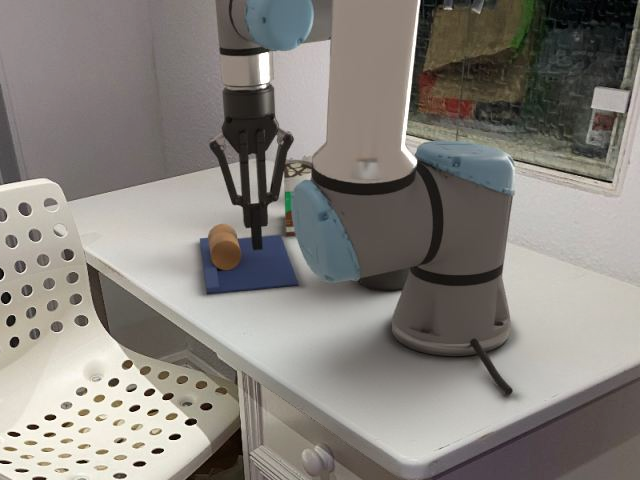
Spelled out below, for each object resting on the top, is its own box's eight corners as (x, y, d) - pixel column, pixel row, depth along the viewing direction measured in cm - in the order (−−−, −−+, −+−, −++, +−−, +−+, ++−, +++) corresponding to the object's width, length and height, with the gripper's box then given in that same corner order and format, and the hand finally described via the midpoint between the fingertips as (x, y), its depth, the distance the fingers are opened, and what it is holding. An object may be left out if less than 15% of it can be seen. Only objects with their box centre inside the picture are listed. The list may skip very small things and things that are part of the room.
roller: (210, 240, 126) (210, 270, 129) (241, 240, 127) (240, 270, 130) (208, 223, 133) (208, 252, 136) (237, 223, 133) (236, 252, 136)
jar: (424, 268, 126) (428, 218, 121) (417, 294, 119) (420, 242, 114) (360, 265, 129) (361, 216, 124) (349, 290, 121) (349, 239, 116)
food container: (321, 237, 139) (321, 177, 133) (285, 239, 140) (283, 179, 134) (318, 214, 149) (318, 156, 143) (285, 215, 150) (283, 158, 143)
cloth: (298, 285, 124) (298, 279, 123) (207, 294, 123) (206, 288, 123) (280, 236, 141) (280, 230, 141) (200, 243, 141) (199, 238, 140)
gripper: (289, 76, 120) (293, 235, 135) (201, 83, 120) (215, 242, 134) (296, 86, 115) (300, 251, 129) (204, 94, 114) (218, 259, 128)
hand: (257, 246), depth 132 cm, fingers closed
